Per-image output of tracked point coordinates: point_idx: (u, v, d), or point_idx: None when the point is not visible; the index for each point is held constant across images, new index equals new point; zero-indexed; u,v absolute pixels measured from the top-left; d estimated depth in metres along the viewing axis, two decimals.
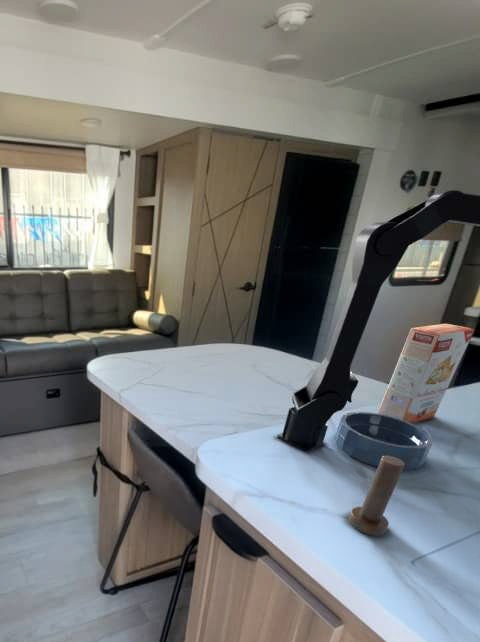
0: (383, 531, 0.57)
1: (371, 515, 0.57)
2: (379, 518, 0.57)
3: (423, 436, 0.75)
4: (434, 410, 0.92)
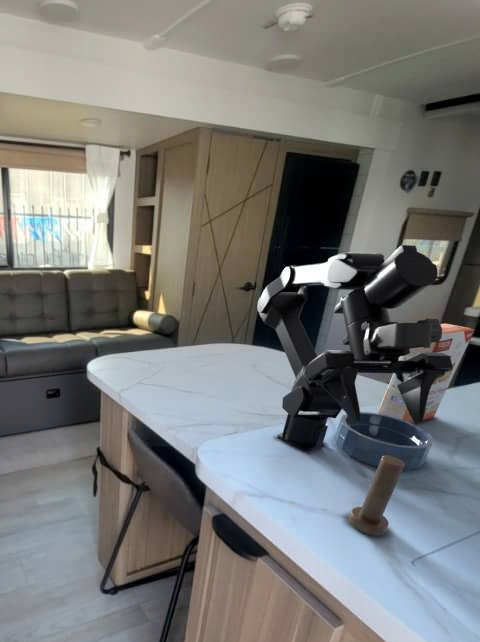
0: (383, 531, 0.57)
1: (371, 515, 0.57)
2: (379, 518, 0.57)
3: (423, 436, 0.75)
4: (434, 410, 0.92)
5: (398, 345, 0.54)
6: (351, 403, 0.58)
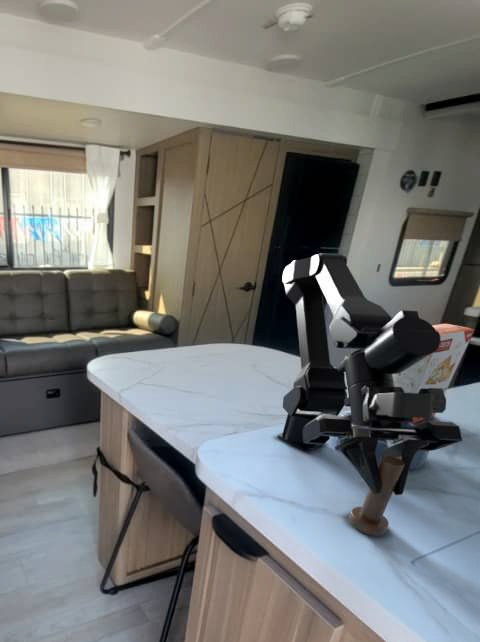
0: (383, 531, 0.57)
1: (371, 515, 0.57)
2: (379, 518, 0.57)
3: None
4: None
5: (395, 416, 0.51)
6: (370, 473, 0.55)
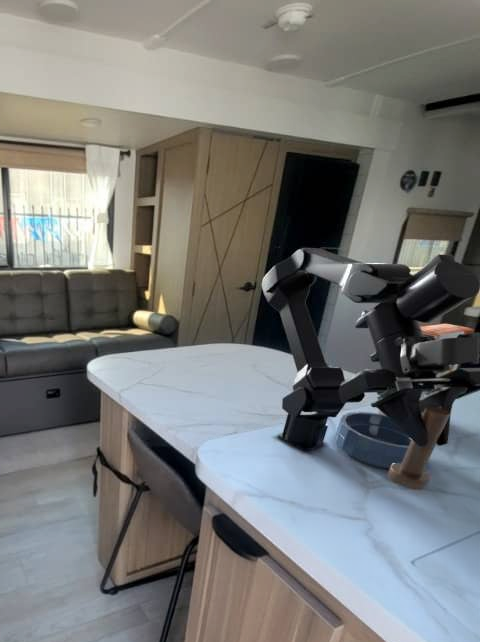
0: (427, 484, 0.55)
1: (415, 469, 0.55)
2: (422, 471, 0.55)
3: None
4: None
5: (446, 362, 0.49)
6: (417, 426, 0.53)
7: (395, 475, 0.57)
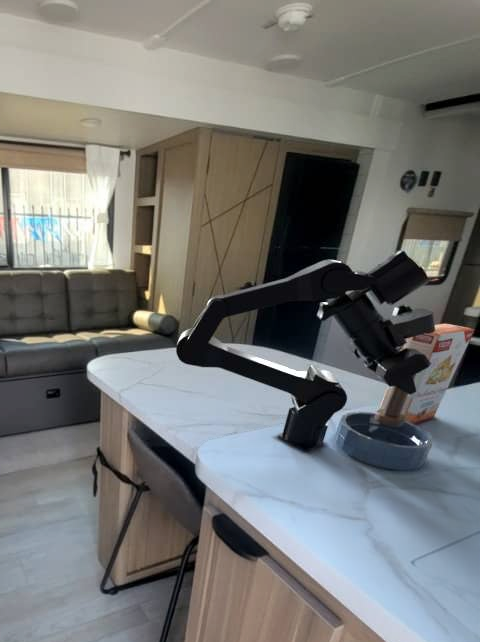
0: None
1: None
2: None
3: (423, 436, 0.75)
4: (434, 410, 0.92)
5: (433, 330, 0.66)
6: (412, 381, 0.70)
7: (396, 421, 0.73)
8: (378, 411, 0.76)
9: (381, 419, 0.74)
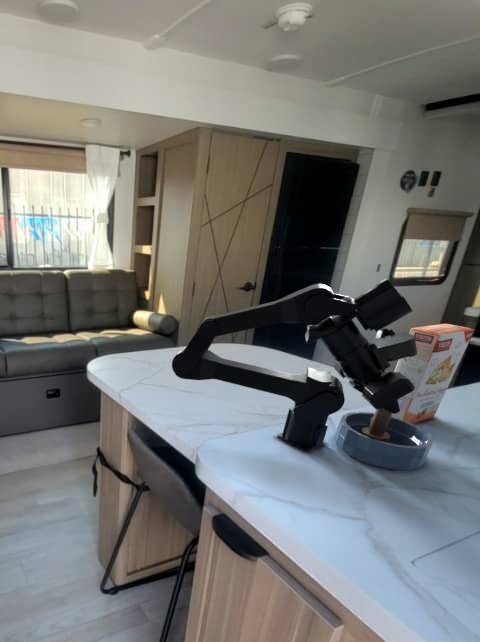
0: None
1: (385, 429, 0.76)
2: None
3: (423, 436, 0.75)
4: (434, 410, 0.92)
5: (416, 354, 0.68)
6: (397, 402, 0.72)
7: (381, 440, 0.76)
8: (363, 429, 0.78)
9: None
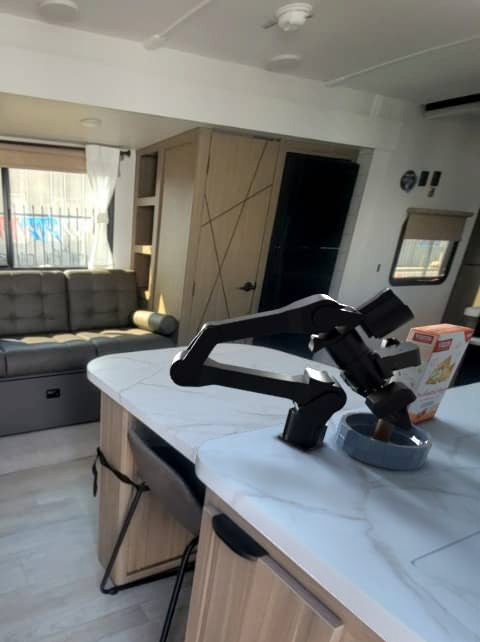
0: None
1: None
2: None
3: (423, 436, 0.75)
4: (434, 410, 0.92)
5: (420, 364, 0.68)
6: (409, 419, 0.69)
7: None
8: None
9: None
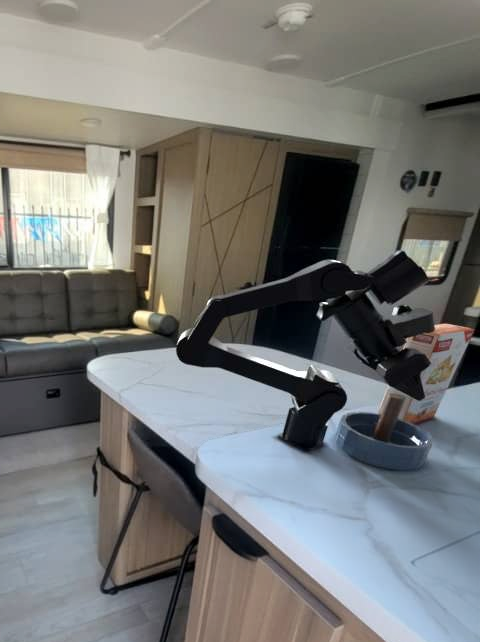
0: None
1: None
2: None
3: (423, 436, 0.75)
4: (434, 410, 0.92)
5: (433, 330, 0.66)
6: (421, 387, 0.67)
7: None
8: None
9: None
